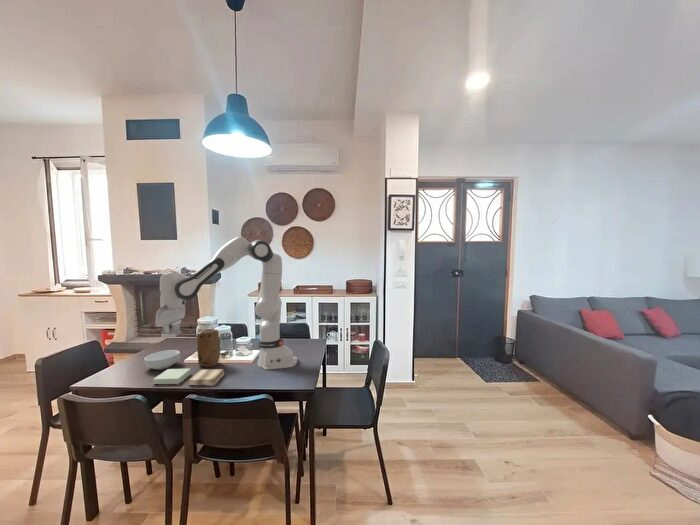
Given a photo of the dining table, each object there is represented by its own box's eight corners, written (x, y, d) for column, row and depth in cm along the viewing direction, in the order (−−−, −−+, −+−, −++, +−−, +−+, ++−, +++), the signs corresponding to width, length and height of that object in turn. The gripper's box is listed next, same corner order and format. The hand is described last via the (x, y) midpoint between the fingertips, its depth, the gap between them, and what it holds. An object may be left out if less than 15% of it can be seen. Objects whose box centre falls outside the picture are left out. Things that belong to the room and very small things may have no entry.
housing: (181, 333, 148) (181, 319, 148) (175, 336, 143) (175, 322, 142) (167, 333, 148) (167, 320, 148) (161, 337, 142) (160, 322, 142)
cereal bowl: (170, 359, 174) (170, 347, 174) (186, 364, 165) (185, 352, 165) (138, 369, 159) (138, 356, 159) (153, 375, 151) (153, 362, 151)
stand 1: (191, 374, 152) (190, 368, 152) (178, 384, 140) (178, 378, 140) (167, 374, 152) (167, 369, 152) (153, 385, 140) (153, 379, 140)
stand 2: (223, 374, 151) (223, 369, 151) (214, 385, 139) (214, 379, 139) (200, 375, 151) (200, 369, 151) (189, 386, 139) (188, 379, 139)
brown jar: (221, 362, 168) (220, 329, 167) (213, 367, 160) (212, 332, 159) (204, 362, 169) (203, 328, 168) (195, 367, 161) (194, 332, 161)
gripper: (164, 307, 134) (165, 336, 135) (187, 300, 155) (188, 325, 155) (150, 307, 134) (151, 337, 135) (175, 300, 155) (176, 325, 155)
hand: (171, 330), depth 145 cm, fingers closed on housing, 5 cm apart
